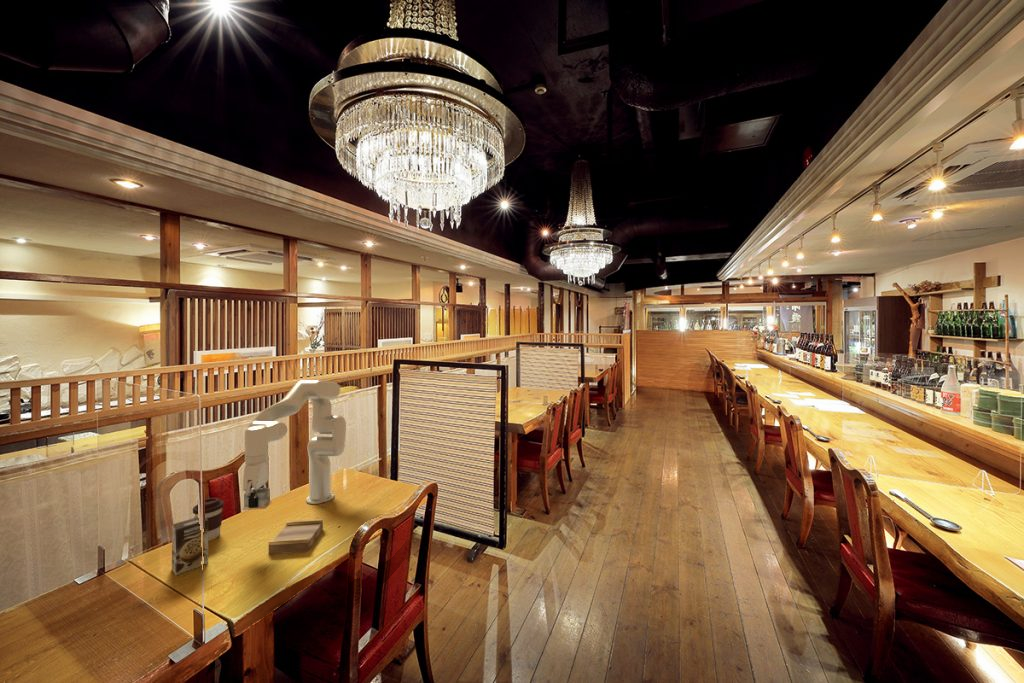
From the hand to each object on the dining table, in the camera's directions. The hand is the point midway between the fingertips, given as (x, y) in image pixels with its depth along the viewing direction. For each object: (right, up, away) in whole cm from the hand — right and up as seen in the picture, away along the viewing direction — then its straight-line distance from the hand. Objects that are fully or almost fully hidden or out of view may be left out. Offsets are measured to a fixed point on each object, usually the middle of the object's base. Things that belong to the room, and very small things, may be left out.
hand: (257, 503), depth 145 cm
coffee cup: (-24, -17, +7) cm, 30 cm away
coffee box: (-15, -17, -12) cm, 26 cm away
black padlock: (0, -1, 0) cm, 1 cm away
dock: (+13, -17, +4) cm, 22 cm away
